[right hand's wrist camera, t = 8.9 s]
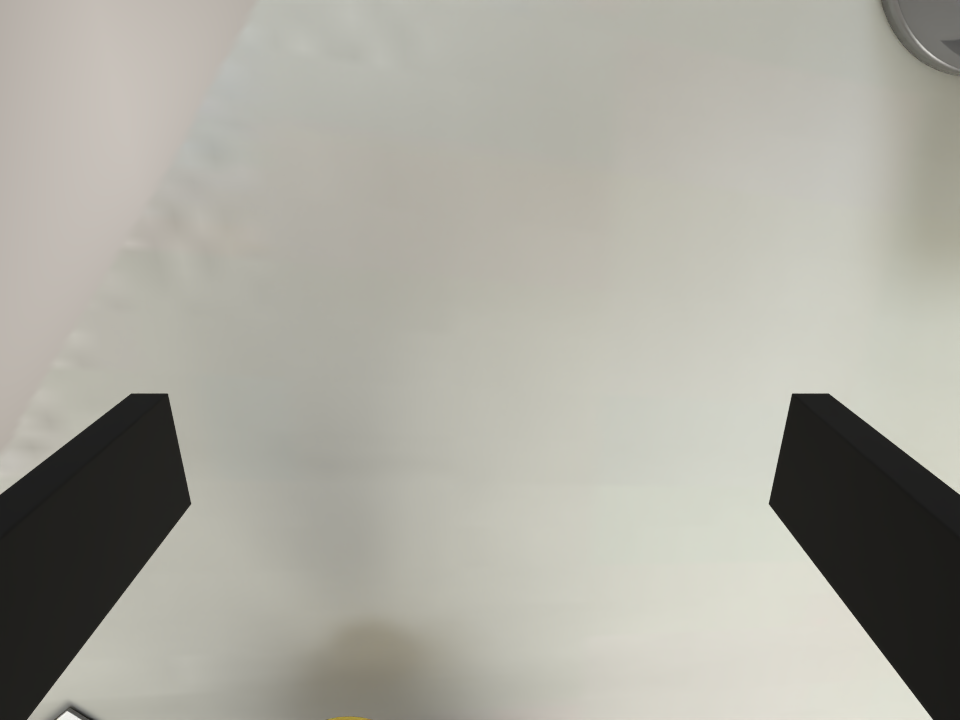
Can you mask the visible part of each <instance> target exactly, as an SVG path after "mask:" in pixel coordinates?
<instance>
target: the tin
mask: <svg viewBox="0 0 960 720" xmlns="http://www.w3.org/2000/svg"><path fill="white" fill-rule="evenodd" d="M327 720H371V719H366V718H361V717H337V718H331V719H327Z"/></svg>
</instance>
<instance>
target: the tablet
mask: <svg viewBox="0 0 960 720" xmlns="http://www.w3.org/2000/svg"><path fill="white" fill-rule="evenodd" d="M55 720H89V719H87V718H86V717H84V716H83V715H81V714H79V713H78V712H76V711H75V710H73V709H71V708H70V707H69V708H68V709H67V710H66V711H65V712H63V713H62V714H61V715H60V716H59V717H58V718H56V719H55Z"/></svg>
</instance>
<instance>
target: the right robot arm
mask: <svg viewBox="0 0 960 720" xmlns="http://www.w3.org/2000/svg"><path fill="white" fill-rule="evenodd" d="M881 2H882V5H883V9H884V12H885V14H886V17H887V19H888V22H889V24H890V26H891V28H892V29H893V31H894V33H895V35H896V36H897V37H898V39H899V40H900V42H901V43H902V44H903V45H904V46H905V48H906V49H907V50H908V51H909V52H910V53H911V54H913V55H914V56H915V57H916V58H917V59H919V60H920V61H922V62H923V63H925V64H926V65H928V66H930V67H932V68H934V69H937V70H939V71H942V72H945V73H948V74H953V75H958V76H960V0H881ZM190 505H191V501H190V496H189V491H188V487H187V482H186V477H185V472H184V468H183V463H182V458H181V454H180V449H179V444H178V439H177V435H176V430H175V425H174V421H173V416H172V411H171V406H170V402H169V397H168V394H130V395H129V396H128V397H126V398H125V399H124V400H122V401H121V402H120V403H119V404H117V405H116V406H115V407H113V408H112V409H111V410H110V411H108V412H107V413H106V414H104V415H103V416H102V417H100V418H99V419H98V420H97V421H95V422H94V423H93V424H91V425H90V426H89V427H87V428H86V429H85V430H84V431H82V432H81V433H80V434H78V435H77V436H76V437H75V438H73V439H72V440H71V441H69V442H68V443H67V444H65V445H64V446H63V447H62V448H60V449H59V450H58V451H56V452H55V453H54V454H52V455H51V456H50V457H49V458H47V459H46V460H45V461H43V462H42V463H41V464H40V465H38V466H37V467H36V468H34V469H33V470H32V471H30V472H29V473H28V474H27V475H25V476H24V477H23V478H21V479H20V480H19V481H17V482H16V483H15V484H14V485H12V486H11V487H10V488H8V489H7V490H6V491H5V492H3V493H2V494H1V495H0V720H27V719H28V718H29V716H30V715H31V714H32V712H33V711H34V710H35V708H36V707H37V706H38V704H39V703H40V702H41V701H42V699H43V698H44V697H45V695H46V694H47V693H48V691H49V690H50V689H51V687H52V686H53V685H54V683H55V682H56V681H57V680H58V678H59V677H60V676H61V674H62V673H63V672H64V670H65V669H66V668H67V666H68V665H69V664H70V662H71V661H72V660H73V659H74V657H75V656H76V655H77V653H78V652H79V651H80V649H81V648H82V647H83V645H84V644H85V643H86V641H87V640H88V639H89V637H90V636H91V635H92V634H93V632H94V631H95V630H96V628H97V627H98V626H99V624H100V623H101V622H102V620H103V619H104V618H105V616H106V615H107V614H108V613H109V611H110V610H111V609H112V607H113V606H114V605H115V603H116V602H117V601H118V599H119V598H120V597H121V595H122V594H123V593H124V592H125V590H126V589H127V588H128V586H129V585H130V584H131V582H132V581H133V580H134V578H135V577H136V576H137V574H138V573H139V572H140V571H141V569H142V568H143V567H144V565H145V564H146V563H147V561H148V560H149V559H150V557H151V556H152V555H153V553H154V552H155V551H156V550H157V548H158V547H159V546H160V544H161V543H162V542H163V540H164V539H165V538H166V536H167V535H168V534H169V532H170V531H171V530H172V528H173V527H174V526H175V525H176V523H177V522H178V521H179V519H180V518H181V517H182V515H183V514H184V513H185V511H186V510H187V509H188V507H189V506H190ZM769 505H770V506H771V507H772V509H773V510H774V511H775V513H776V514H777V515H778V517H779V518H780V519H781V521H782V522H783V523H784V525H785V526H786V527H787V528H788V530H789V531H790V532H791V534H792V535H793V536H794V538H795V539H796V540H797V542H798V543H799V544H800V546H801V547H802V548H803V550H804V551H805V552H806V553H807V555H808V556H809V557H810V559H811V560H812V561H813V563H814V564H815V565H816V567H817V568H818V569H819V571H820V572H821V573H822V574H823V576H824V577H825V578H826V580H827V581H828V582H829V584H830V585H831V586H832V588H833V589H834V590H835V592H836V593H837V594H838V595H839V597H840V598H841V599H842V601H843V602H844V603H845V605H846V606H847V607H848V609H849V610H850V611H851V613H852V614H853V615H854V616H855V618H856V619H857V620H858V622H859V623H860V624H861V626H862V627H863V628H864V630H865V631H866V632H867V634H868V635H869V636H870V637H871V639H872V640H873V641H874V643H875V644H876V645H877V647H878V648H879V649H880V651H881V652H882V653H883V655H884V656H885V657H886V659H887V660H888V661H889V662H890V664H891V665H892V666H893V668H894V669H895V670H896V672H897V673H898V674H899V676H900V677H901V678H902V680H903V681H904V682H905V683H906V685H907V686H908V687H909V689H910V690H911V691H912V693H913V694H914V695H915V697H916V698H917V699H918V701H919V702H920V703H921V704H922V706H923V707H924V708H925V710H926V711H927V712H928V714H929V715H930V716H931V718H932V719H933V720H960V495H959V494H958V493H957V492H955V491H954V490H953V489H952V488H950V487H949V486H948V485H946V484H945V483H944V482H943V481H941V480H940V479H939V478H937V477H936V476H935V475H933V474H932V473H931V472H930V471H928V470H927V469H926V468H924V467H923V466H922V465H920V464H919V463H918V462H917V461H915V460H914V459H913V458H911V457H910V456H909V455H908V454H906V453H905V452H904V451H902V450H901V449H900V448H898V447H897V446H896V445H895V444H893V443H892V442H891V441H889V440H888V439H887V438H885V437H884V436H883V435H882V434H880V433H879V432H878V431H876V430H875V429H874V428H873V427H871V426H870V425H869V424H867V423H866V422H865V421H863V420H862V419H861V418H860V417H858V416H857V415H856V414H854V413H853V412H852V411H850V410H849V409H848V408H847V407H845V406H844V405H843V404H841V403H840V402H839V401H838V400H836V399H835V398H834V397H832V396H831V395H830V394H792V397H791V402H790V406H789V411H788V416H787V420H786V425H785V430H784V435H783V439H782V444H781V449H780V454H779V458H778V463H777V468H776V472H775V477H774V482H773V487H772V491H771V496H770V501H769Z"/></svg>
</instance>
